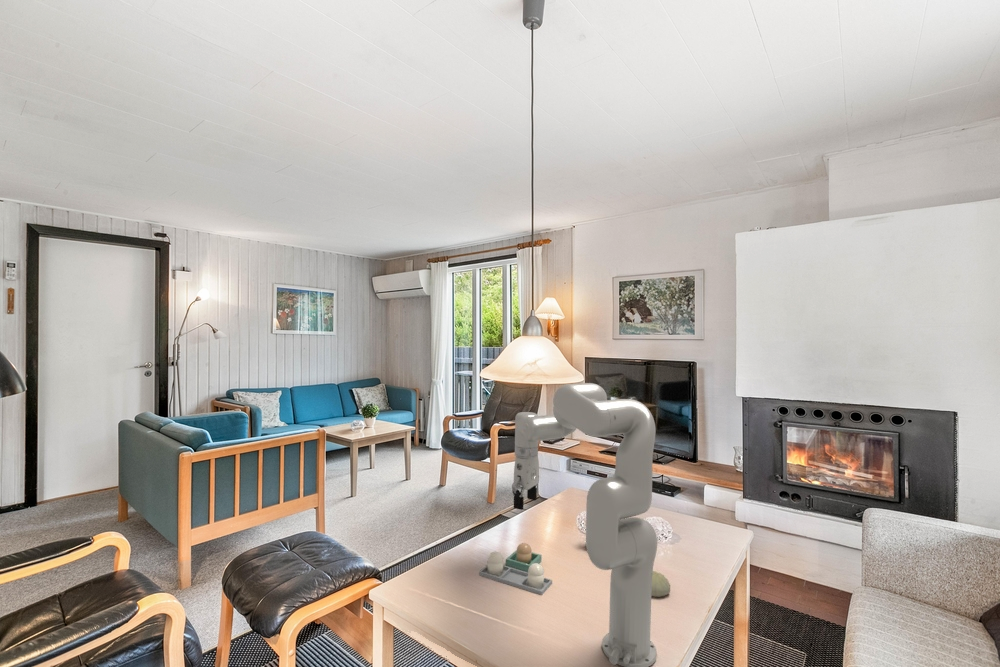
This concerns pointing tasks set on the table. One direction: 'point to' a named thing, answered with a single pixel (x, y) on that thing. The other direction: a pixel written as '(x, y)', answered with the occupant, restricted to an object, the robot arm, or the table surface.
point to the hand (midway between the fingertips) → (525, 503)
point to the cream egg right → (536, 576)
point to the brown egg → (524, 553)
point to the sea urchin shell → (659, 585)
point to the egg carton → (515, 579)
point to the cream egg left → (495, 564)
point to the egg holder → (513, 562)
